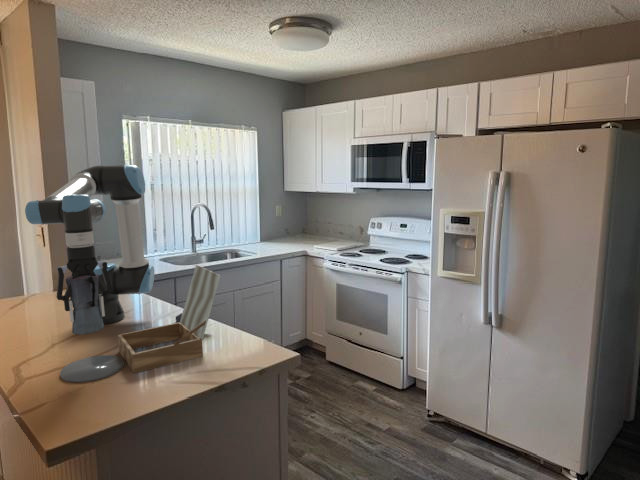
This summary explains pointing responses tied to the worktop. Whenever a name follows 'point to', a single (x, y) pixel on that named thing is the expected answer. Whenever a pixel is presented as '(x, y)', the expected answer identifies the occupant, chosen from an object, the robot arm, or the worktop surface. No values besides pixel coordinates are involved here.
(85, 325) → the moka pot
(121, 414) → the worktop surface
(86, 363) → the disc
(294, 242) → the worktop surface
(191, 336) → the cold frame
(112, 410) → the worktop surface
